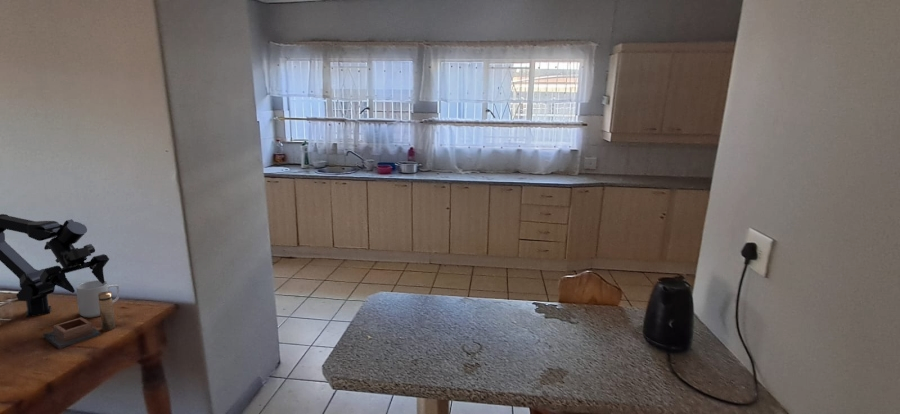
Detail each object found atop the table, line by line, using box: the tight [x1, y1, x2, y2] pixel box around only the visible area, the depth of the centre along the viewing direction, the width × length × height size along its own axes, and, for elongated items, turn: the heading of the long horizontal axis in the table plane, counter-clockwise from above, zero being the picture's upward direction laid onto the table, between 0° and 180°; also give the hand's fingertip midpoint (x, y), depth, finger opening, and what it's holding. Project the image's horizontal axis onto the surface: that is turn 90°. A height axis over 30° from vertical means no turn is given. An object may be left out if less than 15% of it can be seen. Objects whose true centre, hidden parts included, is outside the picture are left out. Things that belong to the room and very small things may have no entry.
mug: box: [75, 279, 120, 318], centre depth 160 cm, size 12×9×11 cm
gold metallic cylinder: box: [98, 290, 116, 332], centre depth 148 cm, size 4×4×13 cm
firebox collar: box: [42, 316, 101, 349], centre depth 143 cm, size 12×11×4 cm
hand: (89, 287), depth 150 cm, fingers open, 9 cm apart
